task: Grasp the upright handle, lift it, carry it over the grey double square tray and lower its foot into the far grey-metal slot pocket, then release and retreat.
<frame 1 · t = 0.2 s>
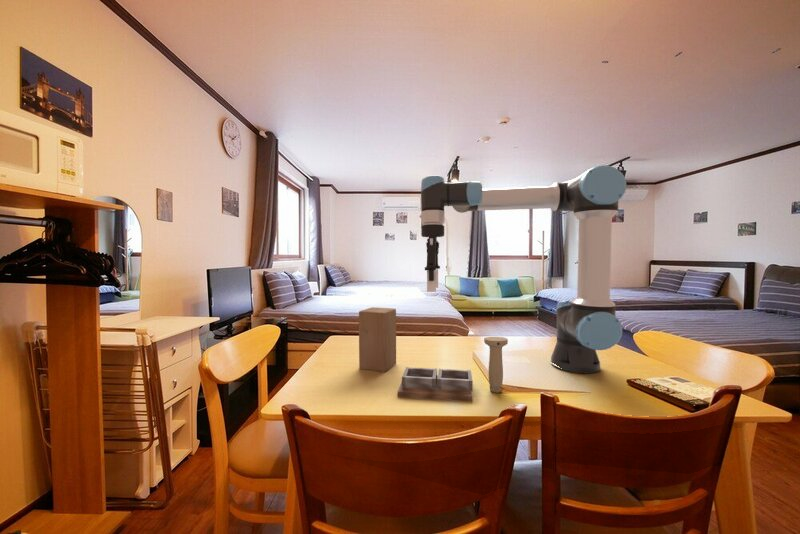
hand: (432, 289, 108), 28 cm above the table, fingers open, 13 cm apart
handle: (495, 391, 93), on the table
wooden block: (378, 366, 115), on the table
grey double square tray: (435, 388, 95), on the table
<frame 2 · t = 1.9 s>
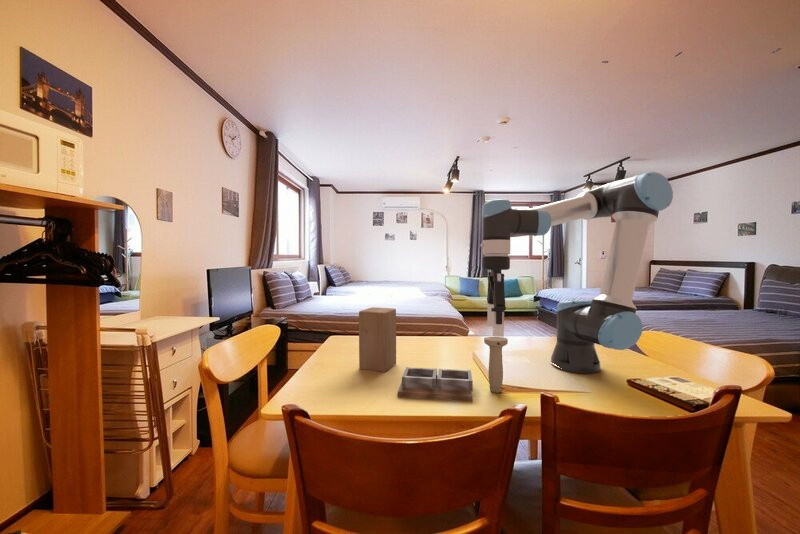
hand: (494, 330, 93), 17 cm above the table, fingers open, 13 cm apart
nothing on the table moved.
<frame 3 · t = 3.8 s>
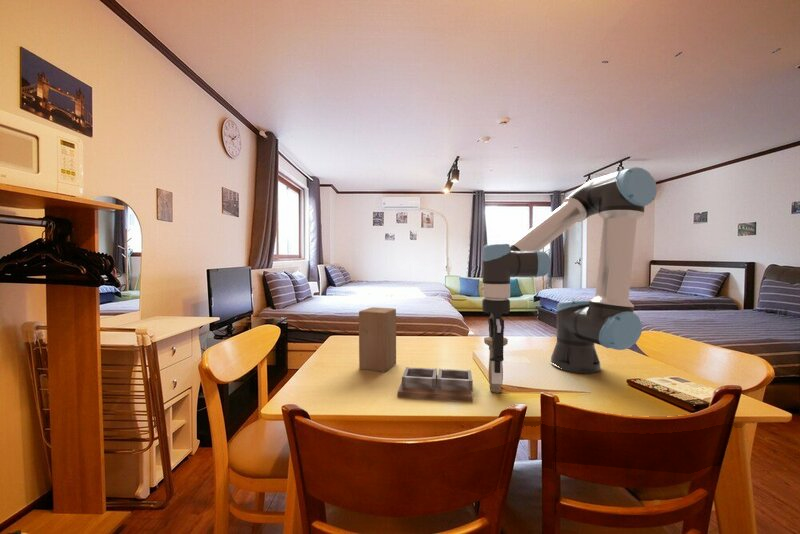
hand: (495, 380, 93), 3 cm above the table, fingers closed on handle, 4 cm apart
handle: (495, 391, 93), on the table, touching gripper
everything else where it was.
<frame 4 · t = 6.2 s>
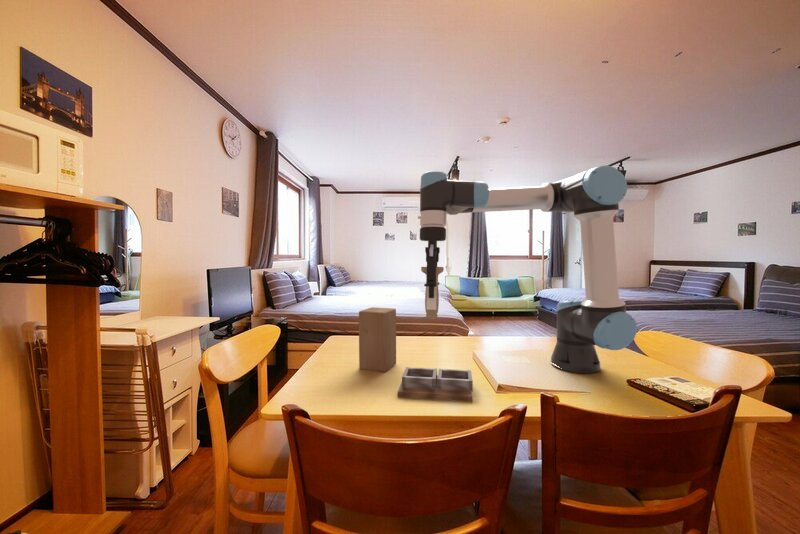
hand: (431, 308, 95), 24 cm above the table, fingers closed on handle, 4 cm apart
handle: (431, 319, 95), point 20 cm above the table, touching gripper
everything else where it was.
when the fingers open (6 cm above the table, at t = 9.0 s): handle stays where it is, resting on grey double square tray.
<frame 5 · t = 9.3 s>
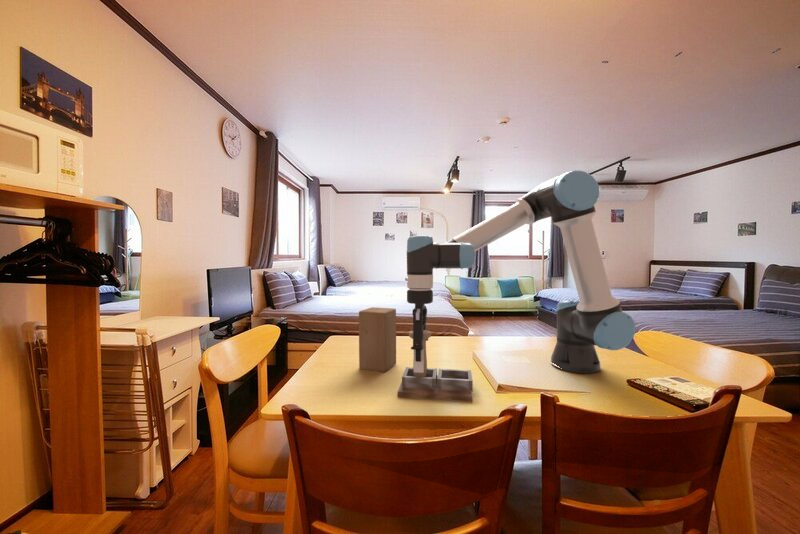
hand: (420, 367, 96), 6 cm above the table, fingers open, 8 cm apart
handle: (420, 383, 96), point 1 cm above the table, touching grey double square tray
everything else where it was.
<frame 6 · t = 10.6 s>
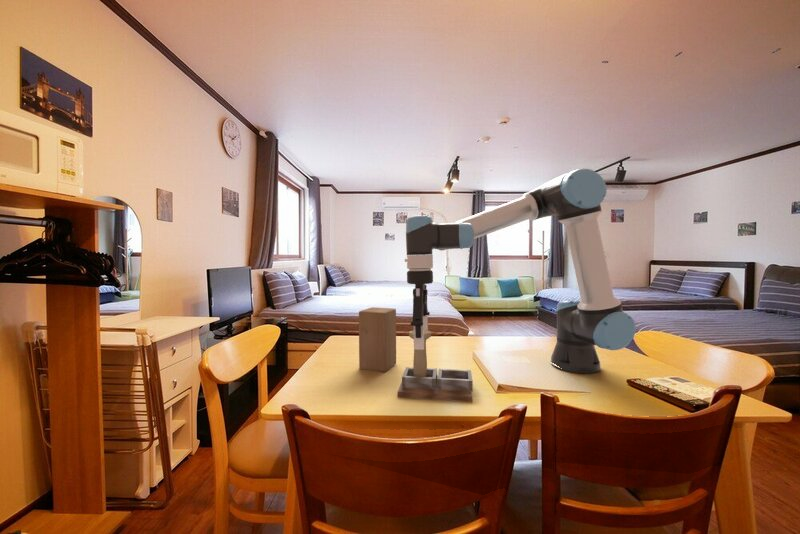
hand: (421, 342, 95), 13 cm above the table, fingers open, 13 cm apart
nothing on the table moved.
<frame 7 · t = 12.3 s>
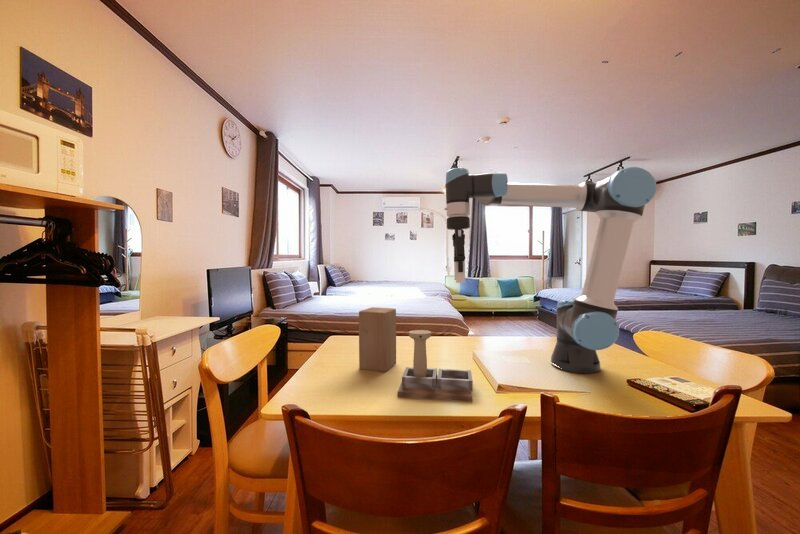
hand: (459, 281, 108), 30 cm above the table, fingers open, 13 cm apart
nothing on the table moved.
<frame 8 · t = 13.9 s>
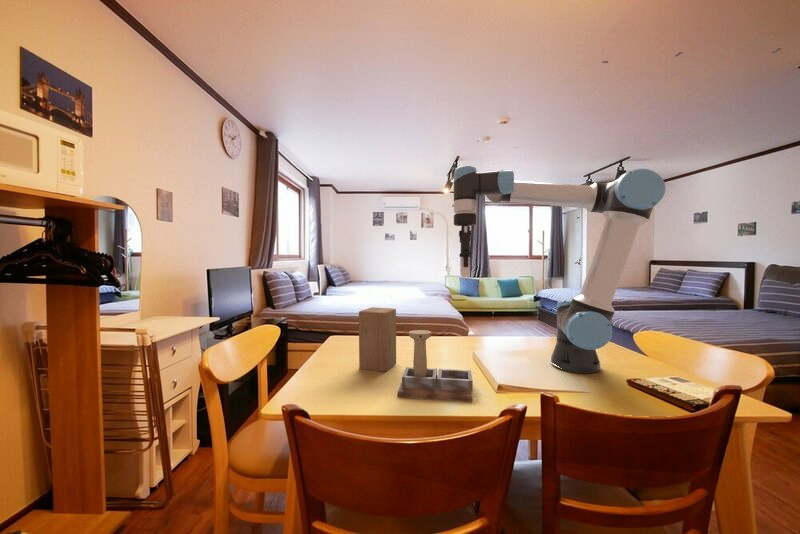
hand: (464, 276, 111), 32 cm above the table, fingers open, 13 cm apart
nothing on the table moved.
at the end: handle 0.0 cm from the target spot on the grey double square tray, point 1.3 cm above the grey double square tray's base; handle tilted 0°; the gripper is holding nothing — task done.
